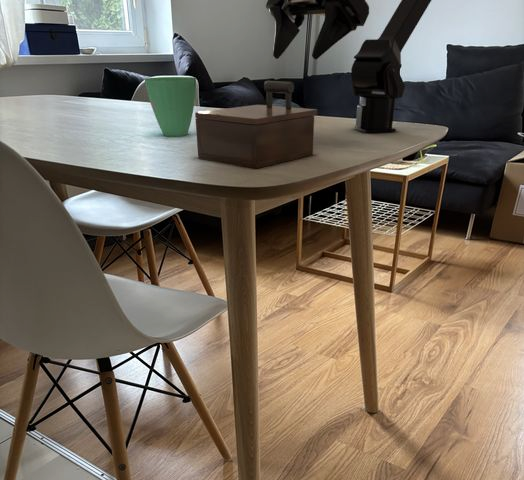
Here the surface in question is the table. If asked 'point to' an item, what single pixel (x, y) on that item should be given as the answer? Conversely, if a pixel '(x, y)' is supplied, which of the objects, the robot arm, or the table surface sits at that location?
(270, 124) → the keepsake box
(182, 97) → the mug
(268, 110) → the lid
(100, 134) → the table surface
